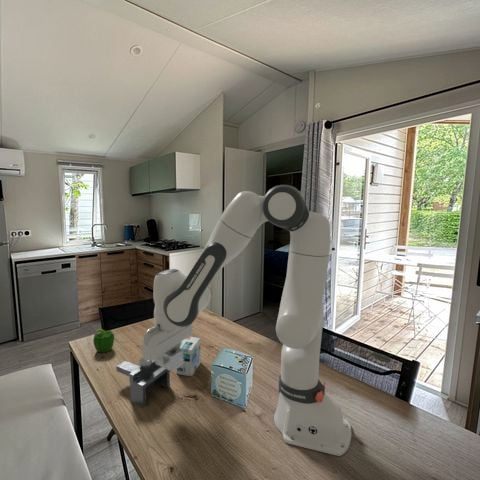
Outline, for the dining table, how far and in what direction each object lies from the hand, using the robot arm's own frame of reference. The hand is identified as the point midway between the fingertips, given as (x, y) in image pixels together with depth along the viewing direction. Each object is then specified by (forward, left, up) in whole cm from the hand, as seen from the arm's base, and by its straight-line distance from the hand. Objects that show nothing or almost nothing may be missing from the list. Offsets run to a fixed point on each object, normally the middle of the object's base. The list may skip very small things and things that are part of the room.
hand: (169, 359), depth 95 cm
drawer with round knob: (+15, 0, -15) cm, 21 cm away
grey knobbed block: (0, 0, -2) cm, 2 cm away
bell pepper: (+49, -12, -15) cm, 53 cm away
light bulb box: (+7, -19, -15) cm, 25 cm away
